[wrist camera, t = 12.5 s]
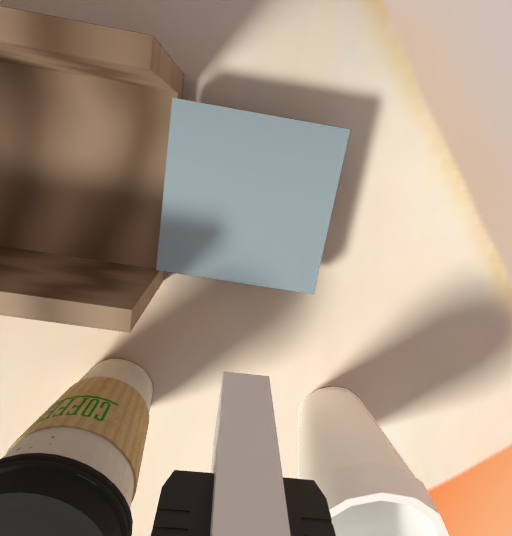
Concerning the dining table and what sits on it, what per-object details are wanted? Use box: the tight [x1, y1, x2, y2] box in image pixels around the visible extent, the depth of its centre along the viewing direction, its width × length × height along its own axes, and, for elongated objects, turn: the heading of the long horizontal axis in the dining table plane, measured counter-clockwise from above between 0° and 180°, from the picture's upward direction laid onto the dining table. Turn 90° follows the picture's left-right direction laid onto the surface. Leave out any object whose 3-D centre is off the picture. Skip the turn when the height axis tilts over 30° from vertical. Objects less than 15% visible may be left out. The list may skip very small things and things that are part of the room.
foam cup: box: [298, 386, 449, 536], centre depth 30 cm, size 10×9×13 cm
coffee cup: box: [0, 359, 153, 536], centre depth 28 cm, size 10×10×15 cm
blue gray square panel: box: [156, 98, 350, 294], centre depth 28 cm, size 2×12×12 cm
